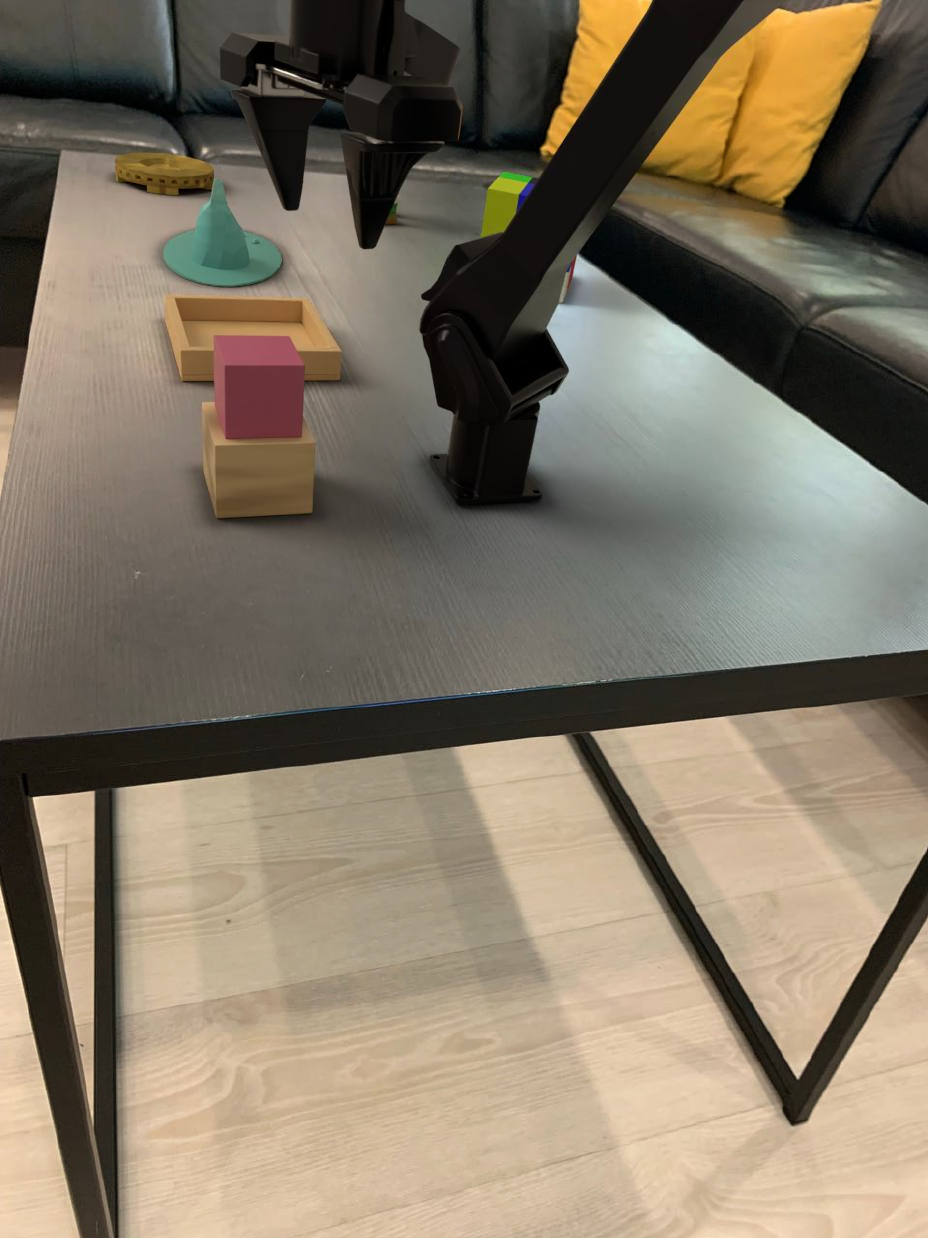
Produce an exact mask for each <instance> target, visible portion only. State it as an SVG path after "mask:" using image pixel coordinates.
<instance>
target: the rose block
mask: <svg viewBox="0 0 928 1238" xmlns="http://www.w3.org/2000/svg"><path fill="white" fill-rule="evenodd" d="M213 344H214V381H213V386H214V387H213V391H214V392H213V393H214V394H213V395H214V397H213V398H214V402H215V408H216V411H217V414H218V418H219V421H220V424H221V427H222V430H223V433H224V436H225V439H240V438H279V437H302V426H303V417H304V399H305V398H304V397H305V380H304V377H305V365H304V363H303V361H302V359H301V357H300V355H299V353H298V351H297V350H296V348H295V346H294V344H293V342H292V340H291V338H290V336H245V335H214V336H213Z"/></svg>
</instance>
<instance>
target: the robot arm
mask: <svg viewBox="0 0 928 1238" xmlns="http://www.w3.org/2000/svg"><path fill="white" fill-rule="evenodd" d="M786 1H787V0H651V2H650V3H649V4H650V5H649V6H648V8H647V10H646V11H645V13H644V15H643V17H642V18H641V19H640V21H639V22H638V24H637V26H636V27H635V29H634V30H633V32H632V33H631V34H630V36H629V38H628V39H627V41H626V43H625V44H624V46H623V47H622V49H621V51H619V53H618V55H617V57H616V58H615V59H614V61H613V63H612V64H611V66H610V67H609V69H608V70H607V72H606V73H605V75H604V77H603V78H602V80H601V81H600V83H598V85H597V87H596V89H595V91H594V92H593V94H592V95H591V97H590V98H589V100H588V101H587V103H586V104H585V106H584V107H583V108H582V110H581V112H580V114H579V115H578V117H577V118H576V120H575V121H574V123H573V124H572V126H571V127H570V128H569V131H568V132H567V134H566V135H565V137H564V138H563V140H562V141H561V142H560V144H559V146H558V148H557V149H556V151H555V152H554V154H553V155H552V157H551V158H550V160H549V161H548V163H547V164H546V166H545V168H544V169H543V171H542V172H541V174H540V175H539V177H538V180H537V182H536V183H535V185H534V186H533V188H532V189H531V191H530V192H529V194H528V195H527V197H526V199H525V200H524V202H523V203H522V205H521V206H520V208H519V209H518V211H517V212H516V214H515V215H514V217H513V219H512V220H511V222H510V223H509V225H508V226H507V228H506V229H505V231H504V232H498V233H495V234H491V235H488V236H485V237H481V236H480V237H478V238H475V239H471V240H468V241H465V242H461V243H458V244H455V245H454V246H453V247H452V249H451V250H450V252H449V253H448V255H447V257H446V259H445V261H444V264H443V266H442V269H441V271H440V274H439V276H438V278H437V280H435V282H434V283H433V285H432V286H431V287H430V288H428V289H427V290H426V291H424V292H422V293H421V295H420V298H421V300H423V301H425V302H428V304H427V305H426V306H425V307H424V309H423V311H422V314H421V317H420V320H419V326H418V331H419V333H420V335H421V338H422V339H421V340H422V344H423V348H424V350H425V353H426V355H427V358H428V363H429V367H430V373H431V377H432V378H431V379H432V383H433V390H434V395H435V401H436V405H437V406H438V407H439V408H441V409H444V410H446V411H448V412H451V413H452V414H453V416H452V421H451V429H450V437H449V443H448V449H447V450H448V451H447V453H433V454H431V455H430V456H429V460H428V461H429V464H430V466H431V468H432V469H433V471H434V472H435V473H436V475H437V477H438V478H439V480H440V481H441V483H442V485H443V486H444V487H445V489H446V490H447V492H448V494H449V495H450V497H451V498H452V499H453V501H454V502H455V503H456V504H458V505H462V506H463V505H464V506H465V505H480V504H481V505H482V504H484V505H485V504H498V503H502V504H503V503H514V502H516V503H517V502H519V503H520V502H535V501H537V502H538V501H541V500H542V499H543V496H544V491H543V490H542V488H540V487H539V485H538V484H537V482H536V481H535V480H534V479H533V477H532V476H531V475H530V474H529V466H530V462H531V456H532V451H533V446H534V442H535V437H536V432H537V427H538V421H539V415H540V411H541V403H540V402H541V401H543V400H544V399H546V398H547V397H549V396H553V395H555V394H556V393H557V392H558V391H559V389H560V388H561V386H562V384H563V383H564V381H565V379H566V378H567V376H568V375H569V373H570V369H569V367H568V364H567V363H566V361H565V359H564V357H563V355H562V353H561V352H560V350H559V348H558V346H557V344H556V343H555V341H554V339H553V337H552V335H551V334H550V332H549V330H548V326H549V324H550V322H551V319H552V317H553V316H554V313H555V312H556V310H557V307H558V306H559V299H560V295H561V291H562V287H563V283H564V279H565V275H566V272H567V270H568V267H569V265H570V264H571V262H572V261H573V259H574V258H575V256H576V255H577V256H578V254H579V252H580V251H581V250H582V248H583V247H584V246H585V244H586V242H588V240H589V239H590V237H591V236H592V235H593V233H594V232H595V231H596V229H597V228H598V227H599V225H600V223H602V221H603V219H604V218H605V217H606V216H607V214H608V212H609V211H610V210H611V208H612V207H613V206H614V204H615V203H616V202H617V201H618V199H619V197H620V196H621V194H622V193H623V192H624V190H625V189H626V188H627V187H628V185H629V184H630V182H631V181H632V179H633V178H634V177H635V176H636V174H637V173H638V172H639V169H641V167H642V166H643V164H644V163H645V162H646V161H647V159H648V158H649V156H650V155H651V154H652V152H653V151H654V149H655V148H656V147H657V145H658V144H659V143H660V141H661V140H662V139H663V137H664V136H665V134H666V133H667V132H668V130H669V129H670V127H671V126H672V125H673V123H674V122H675V121H676V119H677V118H678V116H679V115H680V114H681V113H682V111H683V110H684V108H685V107H686V105H687V104H688V103H689V101H690V100H691V98H692V97H693V96H694V94H695V93H696V91H697V90H698V89H699V88H700V86H701V85H702V84H703V82H704V81H705V79H706V78H707V77H708V75H709V74H710V73H711V71H712V69H713V68H714V67H715V65H717V63H718V62H719V60H720V59H721V58H722V56H724V55H725V53H727V51H728V50H730V49H731V47H733V46H734V45H735V44H736V43H737V42H739V41H740V40H741V39H743V38H744V37H745V36H746V35H747V34H748V33H750V32H751V31H752V30H753V29H755V28H756V27H757V26H758V25H759V24H760V23H762V22H763V21H764V20H765V19H766V18H768V17H769V16H770V15H771V14H772V13H774V12H775V11H776V10H778V8H780V7H781V6H782V5H783V4H784V3H785V2H786ZM405 3H406V0H289V17H288V18H289V19H288V21H289V22H288V23H289V24H288V29H289V30H288V36H287V35H272V34H260V33H247V32H235V31H234V32H231V33H230V34H229V35H228V36H227V38H226V39H225V40H224V41H223V43H222V44H221V46H219V74H220V75H219V77H220V78H219V79H220V80H222V81H224V82H227V83H230V84H232V85H235V86H237V87H240V88H231V89H230V94H231V98H232V99H234V100H235V101H236V102H237V104H238V106H239V108H240V111H241V113H242V115H243V117H244V119H245V121H246V123H247V125H248V128H249V130H250V132H251V134H252V137H253V139H254V141H255V143H256V146H257V147H258V151H259V153H260V155H261V157H262V160H263V162H264V164H265V167H266V169H267V172H268V175H269V176H270V180H271V182H272V185H273V187H274V189H275V192H276V194H277V197H278V199H279V202H280V204H281V207H282V209H283V210H285V211H286V212H294V211H295V212H296V211H298V210H299V208H300V206H301V205H300V204H301V200H302V199H301V198H302V193H303V187H304V186H303V185H304V180H305V179H304V177H305V167H306V160H307V159H306V158H307V149H308V139H309V130H310V126H311V124H312V122H313V121H314V120H315V118H317V115H318V114H319V112H320V111H321V110H322V108H323V107H324V105H326V103H327V100H328V101H331V102H333V103H336V104H339V105H342V106H343V110H342V112H343V114H344V117H345V120H346V122H347V125H348V128H349V130H351V131H353V132H340V141H341V147H342V148H341V149H342V155H343V161H344V167H345V172H346V179H347V187H348V193H349V200H350V205H351V212H352V217H353V218H352V219H353V224H354V230H355V234H356V238H357V243H358V247H359V249H362V250H373V249H375V248H377V245H378V243H379V240H380V238H381V236H382V233H383V232H384V228H385V227H386V225H385V224H386V222H387V220H388V217H389V215H390V212H391V210H392V208H393V205H394V203H395V201H396V198H397V196H398V194H400V191H401V189H402V187H403V186H404V183H405V182H406V179H407V177H408V176H409V173H410V172H411V170H412V169H413V168H414V166H415V165H417V164H418V163H419V162H420V161H421V160H422V159H424V158H425V157H426V156H427V155H428V154H429V153H431V154H432V153H433V154H434V153H435V154H436V153H439V152H441V150H442V149H443V148H444V146H445V142H459V140H460V133H461V125H462V115H463V108H464V104H463V103H462V101H461V99H460V97H459V95H458V94H457V92H456V89H455V88H454V86H450V85H449V84H450V81H451V78H452V75H453V72H454V69H455V66H456V65H457V61H458V59H459V55H460V53H461V47H460V46H458V45H457V44H456V43H454V42H453V41H451V40H450V39H449V38H447V37H445V36H444V35H442V34H441V33H439V32H438V31H436V30H435V29H434V28H432V27H431V26H429V25H428V24H426V23H425V22H423V21H421V20H419V19H417V18H415V17H414V16H412V15H411V14H409V13H408V12H407V11H406V7H405Z"/></svg>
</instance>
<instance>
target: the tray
mask: <svg viewBox="0 0 928 1238" xmlns="http://www.w3.org/2000/svg"><path fill="white" fill-rule="evenodd" d="M163 299H164V316H165V317H164V320H165V321H164V322H165V326H166V329H167V332H168V337H169V341H170V344H171V348H172V351H173V354H174V358H175V362H176V365H177V369H178V373H179V376H180V380H181V382H214V344H213V336H214V335H245V336H290V338H291V340H292V342H293V344H294V346H295V348H296V350H297V351H298V353H299V355H300V357H301V359H302V361H303V363H304V365H305V377H304V381H340V380H341V368H342V352H343V351H342V350H341V348H340V346H339V345H338V343H337V341H336V340H335V338H334V336H333V335H332V333H331V332H330V330H329V328H328V327H327V325H326V323H325V322H324V321H323V319H322V317H321V316H320V314H319V312H318V310H317V309H316V308H315V306H314V304H313V302H312V301H311V300H310V298H308V297H282V296H281V297H280V296H243V295H241V296H239V295H208V294H207V295H205V294H172V293H171V294H170V293H169V294H168V293H167V294H164V295H163Z"/></svg>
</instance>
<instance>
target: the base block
mask: <svg viewBox="0 0 928 1238" xmlns="http://www.w3.org/2000/svg"><path fill="white" fill-rule="evenodd" d="M201 424H202V425H201V426H202V428H201V429H202V464H203V465H202V466H203V469H202V470H203V476H204V478H205V482H206V486H207V489H208V494H209V498H210V501H211V504H212V505H211V506H212V508H213V511H214V516H215V518H216V519H228V518H229V519H230V518H247V517H250V518H251V517H264V516H265V517H266V516H267V517H268V516H285V515H303V514H304V515H305V514H312V513H313V508H314V507H313V506H314V505H313V504H314V487H315V485H314V484H315V468H316V467H315V466H316V447H317V446H316V445H317V443H316V442H317V441H315V438H314V436H313V433H312V431H311V430H310V427H309V425H308V423H307V421H306V419H305V417H304V416H303V426H302V437H279V438H240V439H225V436H224V433H223V430H222V427H221V424H220V421H219V418H218V414H217V411H216V408H215V401H201Z"/></svg>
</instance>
